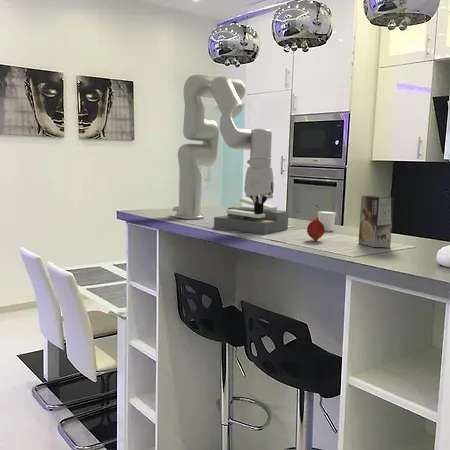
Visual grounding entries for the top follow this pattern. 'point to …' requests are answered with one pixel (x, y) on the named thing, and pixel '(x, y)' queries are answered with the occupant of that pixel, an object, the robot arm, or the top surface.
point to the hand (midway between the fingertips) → (258, 213)
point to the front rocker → (244, 213)
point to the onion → (315, 229)
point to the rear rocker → (265, 206)
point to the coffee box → (376, 221)
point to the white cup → (327, 219)
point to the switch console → (253, 221)
